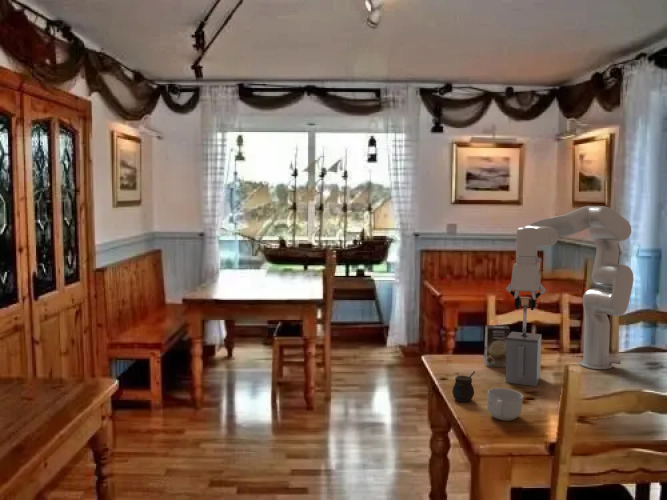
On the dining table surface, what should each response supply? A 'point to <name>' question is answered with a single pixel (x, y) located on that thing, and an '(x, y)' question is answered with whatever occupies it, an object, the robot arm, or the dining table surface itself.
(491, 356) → the coffee box
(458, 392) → the mate gourd
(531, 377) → the press
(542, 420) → the dining table surface
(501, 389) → the teacup
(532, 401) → the dining table surface
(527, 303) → the plunger
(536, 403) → the dining table surface
